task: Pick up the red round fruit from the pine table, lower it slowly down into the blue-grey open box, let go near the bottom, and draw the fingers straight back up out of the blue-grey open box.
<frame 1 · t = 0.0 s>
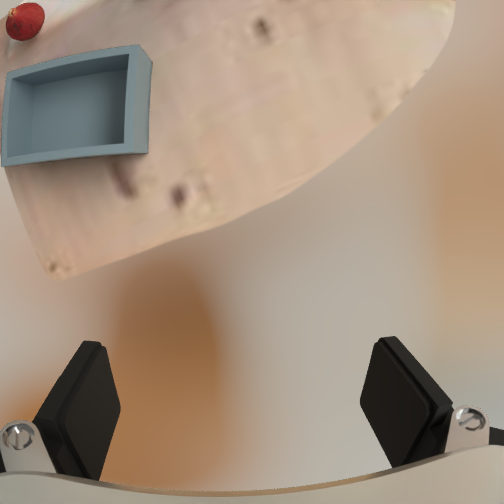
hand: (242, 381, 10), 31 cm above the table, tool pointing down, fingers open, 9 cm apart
red round fruit: (37, 29, 30), on the table
blue-grey open box: (84, 112, 35), on the table
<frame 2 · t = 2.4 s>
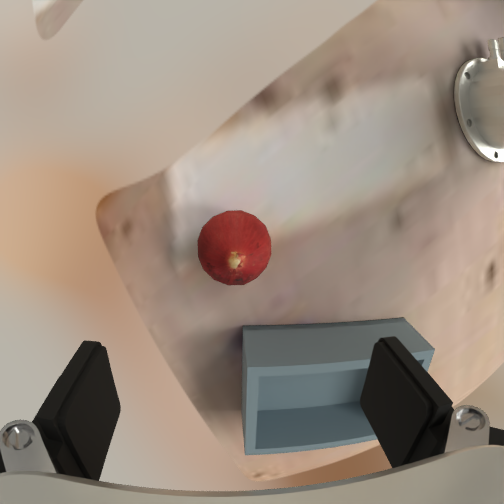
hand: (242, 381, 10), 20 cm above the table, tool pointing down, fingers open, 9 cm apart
red round fruit: (233, 236, 29), on the table
blue-grey open box: (322, 368, 34), on the table
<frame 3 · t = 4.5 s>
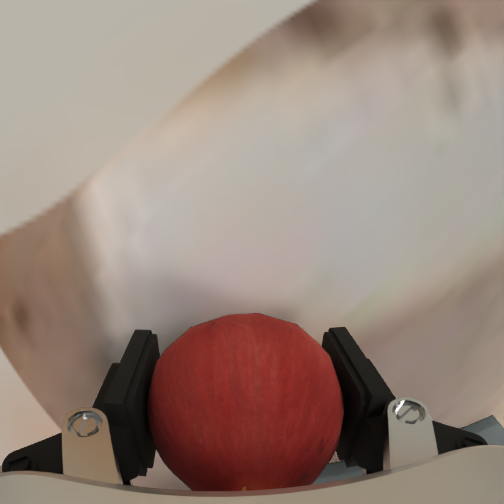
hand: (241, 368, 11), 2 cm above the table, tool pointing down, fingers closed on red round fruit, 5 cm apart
red round fruit: (238, 342, 13), on the table, touching gripper
blue-grey open box: (373, 494, 17), on the table
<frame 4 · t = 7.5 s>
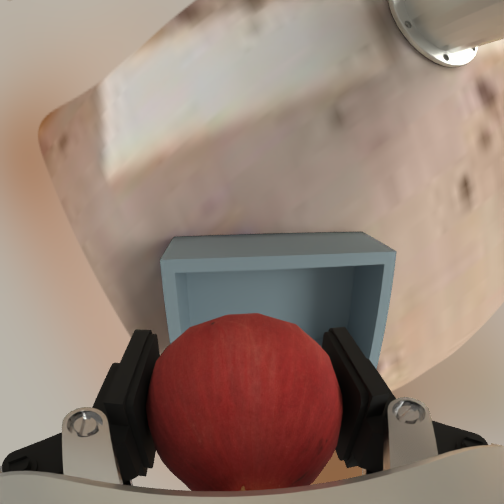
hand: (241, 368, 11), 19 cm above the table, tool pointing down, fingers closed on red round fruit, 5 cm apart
red round fruit: (237, 341, 13), point 18 cm above the table, touching gripper
blue-grey open box: (271, 293, 32), on the table
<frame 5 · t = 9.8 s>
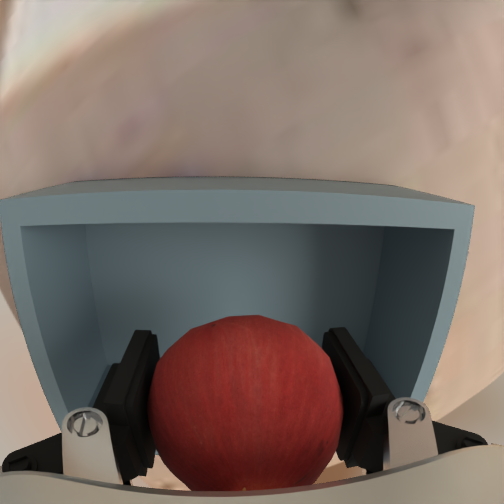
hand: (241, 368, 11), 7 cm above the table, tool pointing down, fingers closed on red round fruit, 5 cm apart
red round fruit: (238, 343, 13), point 6 cm above the table, touching gripper
blue-grey open box: (235, 286, 18), on the table
when the fingers open (4 cm above the table, at t = 10.8 s): red round fruit drops 2 cm, resting on blue-grey open box.
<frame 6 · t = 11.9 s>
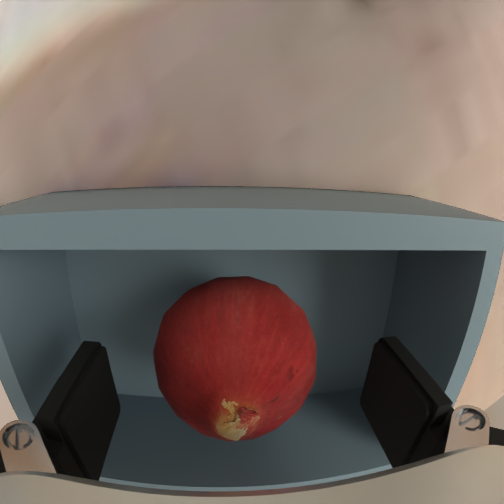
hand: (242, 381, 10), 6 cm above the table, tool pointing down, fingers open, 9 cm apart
red round fruit: (235, 315, 15), point 1 cm above the table, touching blue-grey open box
blue-grey open box: (232, 309, 16), on the table
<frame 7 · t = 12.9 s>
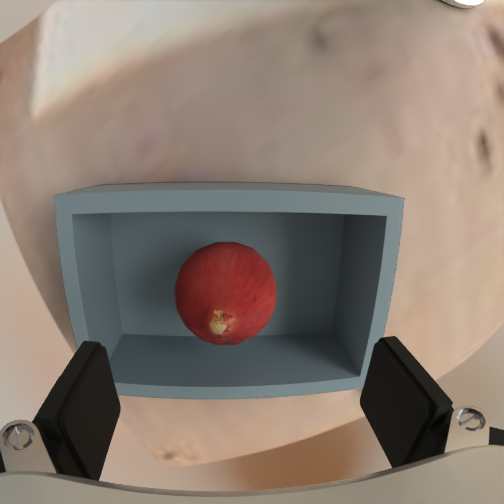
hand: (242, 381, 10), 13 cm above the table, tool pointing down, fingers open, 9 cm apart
red round fruit: (229, 269, 22), point 1 cm above the table, touching blue-grey open box
blue-grey open box: (227, 267, 23), on the table
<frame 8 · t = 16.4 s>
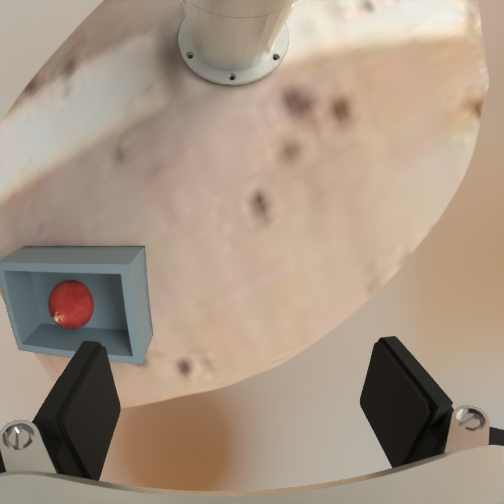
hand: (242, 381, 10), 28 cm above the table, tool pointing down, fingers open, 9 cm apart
red round fruit: (83, 291, 37), point 1 cm above the table, touching blue-grey open box
blue-grey open box: (84, 290, 38), on the table
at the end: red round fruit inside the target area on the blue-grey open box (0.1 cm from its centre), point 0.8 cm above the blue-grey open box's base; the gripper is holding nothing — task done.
